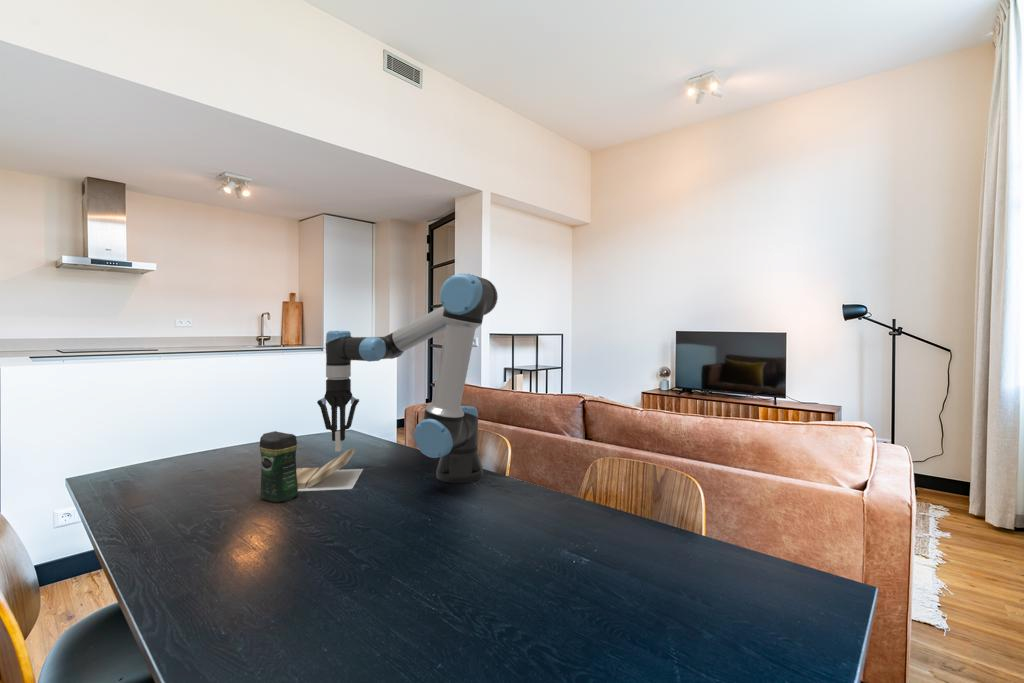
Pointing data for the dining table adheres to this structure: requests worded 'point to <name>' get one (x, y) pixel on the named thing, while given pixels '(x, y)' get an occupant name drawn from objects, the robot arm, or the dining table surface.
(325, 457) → the dining table surface
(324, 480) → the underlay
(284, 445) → the coffee jar
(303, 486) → the laid section
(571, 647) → the dining table surface
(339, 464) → the plank
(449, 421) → the robot arm
